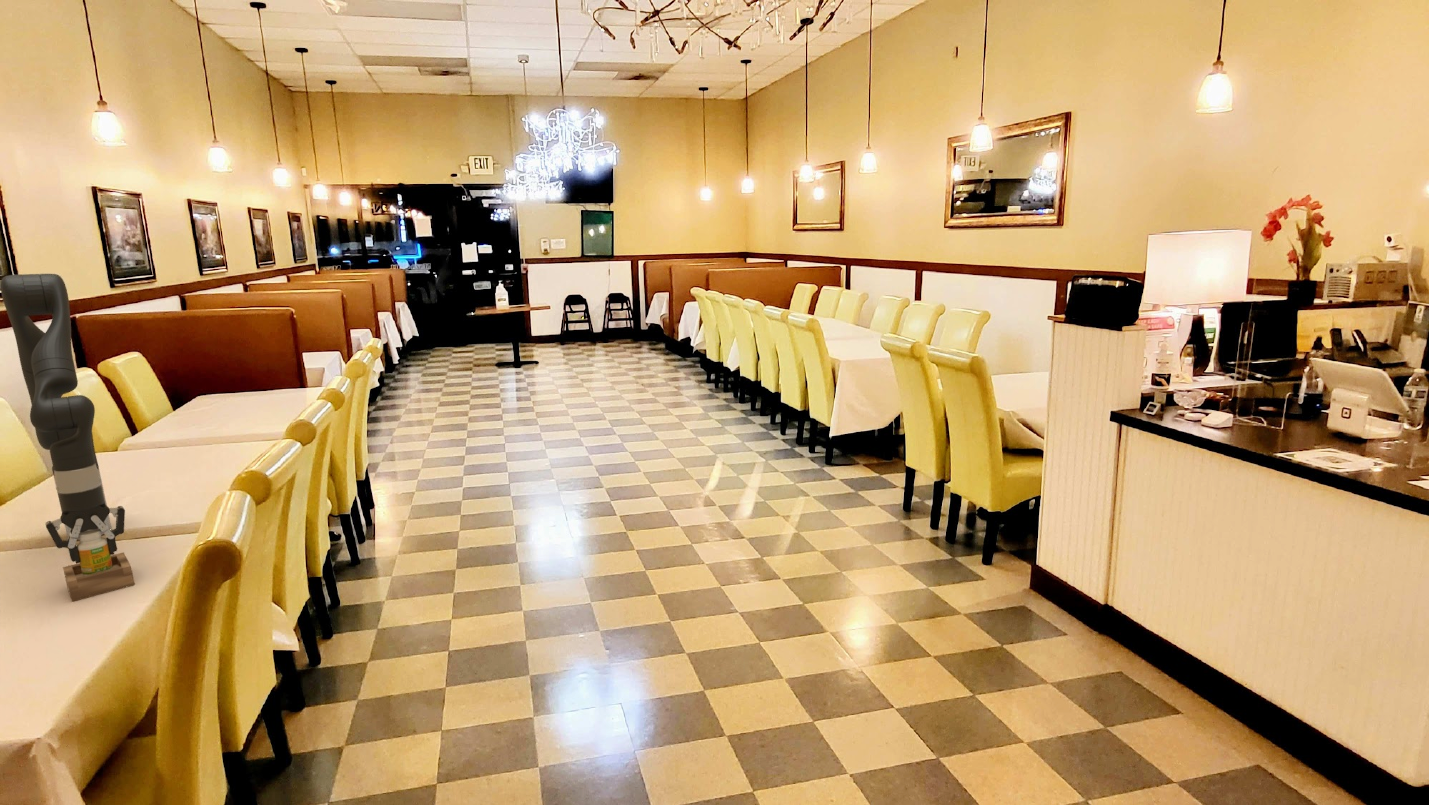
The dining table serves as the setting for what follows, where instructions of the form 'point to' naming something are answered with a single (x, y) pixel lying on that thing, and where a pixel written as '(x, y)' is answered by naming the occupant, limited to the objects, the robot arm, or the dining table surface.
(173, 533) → the dining table surface
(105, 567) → the supplement bottle
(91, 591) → the wooden open box
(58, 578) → the dining table surface
